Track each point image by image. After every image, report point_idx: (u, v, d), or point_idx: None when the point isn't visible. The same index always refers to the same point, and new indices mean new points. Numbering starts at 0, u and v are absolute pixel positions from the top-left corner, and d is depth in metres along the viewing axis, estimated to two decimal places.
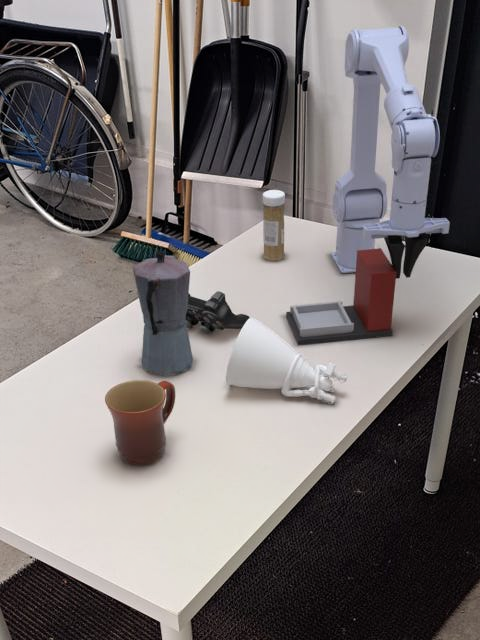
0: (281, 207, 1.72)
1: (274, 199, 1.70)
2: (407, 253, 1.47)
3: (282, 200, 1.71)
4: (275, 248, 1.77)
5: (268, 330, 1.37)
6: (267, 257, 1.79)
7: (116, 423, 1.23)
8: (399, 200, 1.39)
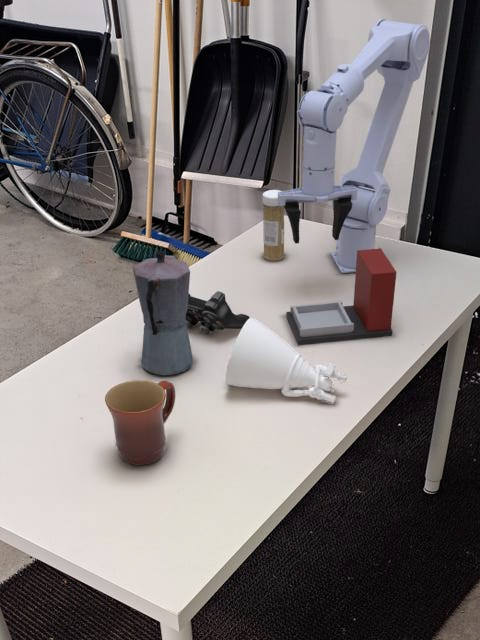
0: (281, 207, 1.72)
1: (274, 199, 1.70)
2: (335, 217, 1.60)
3: None
4: (275, 248, 1.77)
5: (268, 330, 1.37)
6: (267, 257, 1.79)
7: (116, 423, 1.23)
8: None
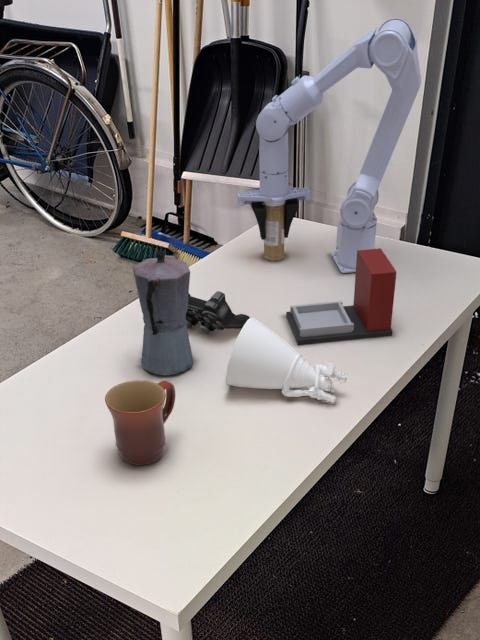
0: (281, 207, 1.72)
1: None
2: (284, 217, 1.76)
3: None
4: (276, 248, 1.77)
5: (268, 330, 1.37)
6: (267, 257, 1.79)
7: (116, 423, 1.23)
8: None
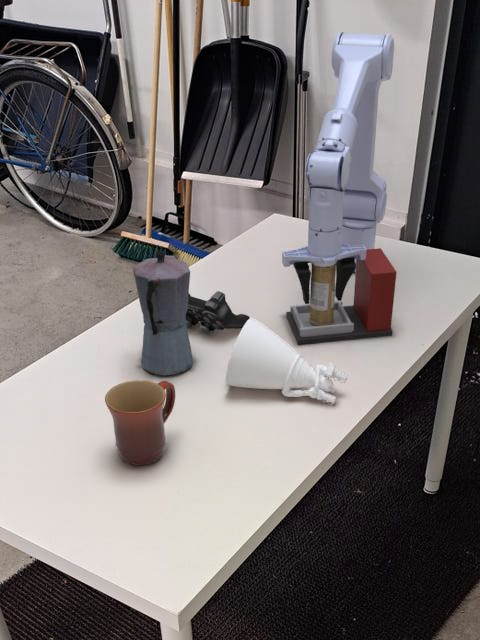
0: (333, 267, 1.48)
1: None
2: (338, 277, 1.52)
3: None
4: (324, 312, 1.53)
5: (268, 330, 1.37)
6: (314, 322, 1.55)
7: (116, 423, 1.23)
8: (309, 225, 1.44)
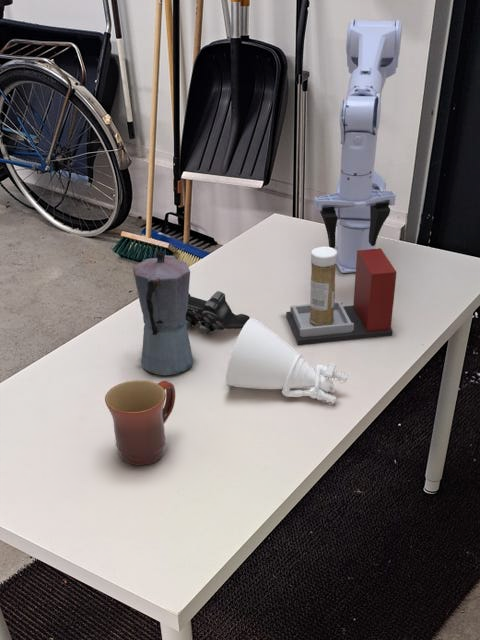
0: (333, 267, 1.48)
1: (325, 259, 1.46)
2: (372, 223, 1.57)
3: (334, 259, 1.47)
4: (324, 312, 1.53)
5: (268, 330, 1.37)
6: (314, 322, 1.55)
7: (116, 423, 1.23)
8: (343, 171, 1.49)
